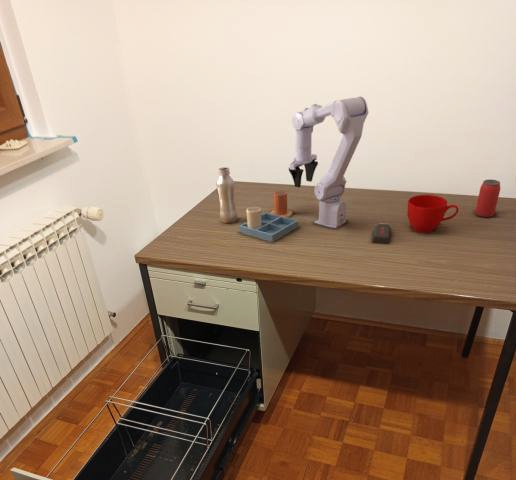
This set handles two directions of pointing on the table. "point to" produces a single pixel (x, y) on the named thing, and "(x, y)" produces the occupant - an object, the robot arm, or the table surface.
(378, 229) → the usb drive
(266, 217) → the rack
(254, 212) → the cream tumbler
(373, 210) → the table surface
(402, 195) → the table surface
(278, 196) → the tumbler
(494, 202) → the beer can
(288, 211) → the coaster
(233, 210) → the plastic bottle
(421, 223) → the ceramic cup
